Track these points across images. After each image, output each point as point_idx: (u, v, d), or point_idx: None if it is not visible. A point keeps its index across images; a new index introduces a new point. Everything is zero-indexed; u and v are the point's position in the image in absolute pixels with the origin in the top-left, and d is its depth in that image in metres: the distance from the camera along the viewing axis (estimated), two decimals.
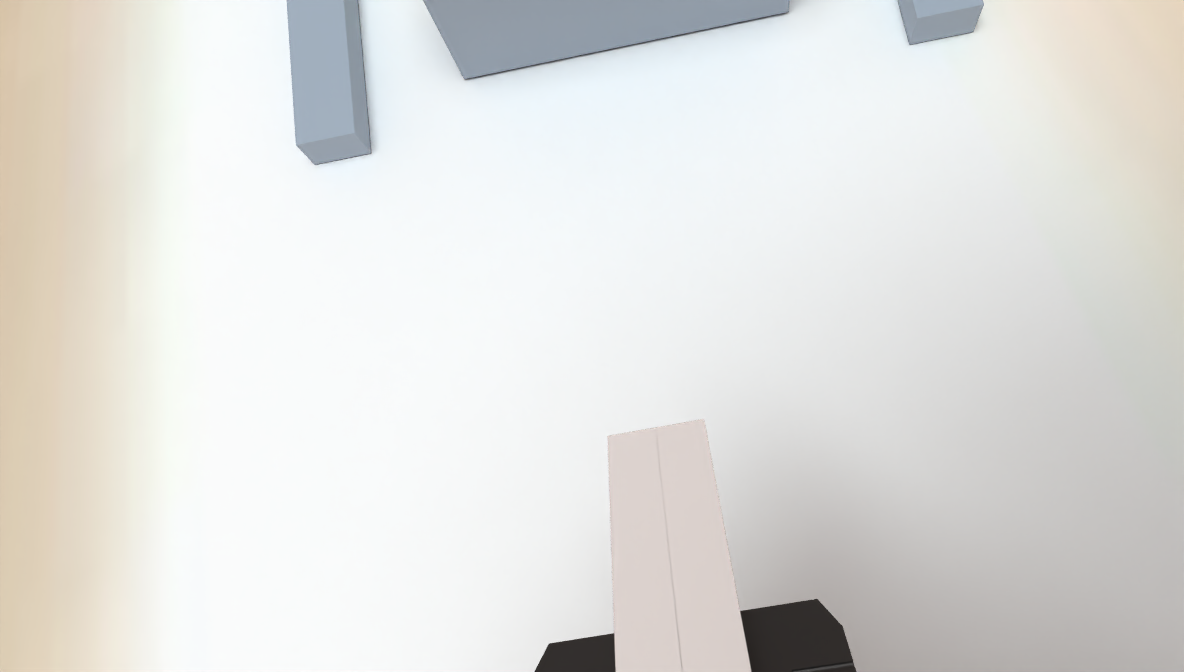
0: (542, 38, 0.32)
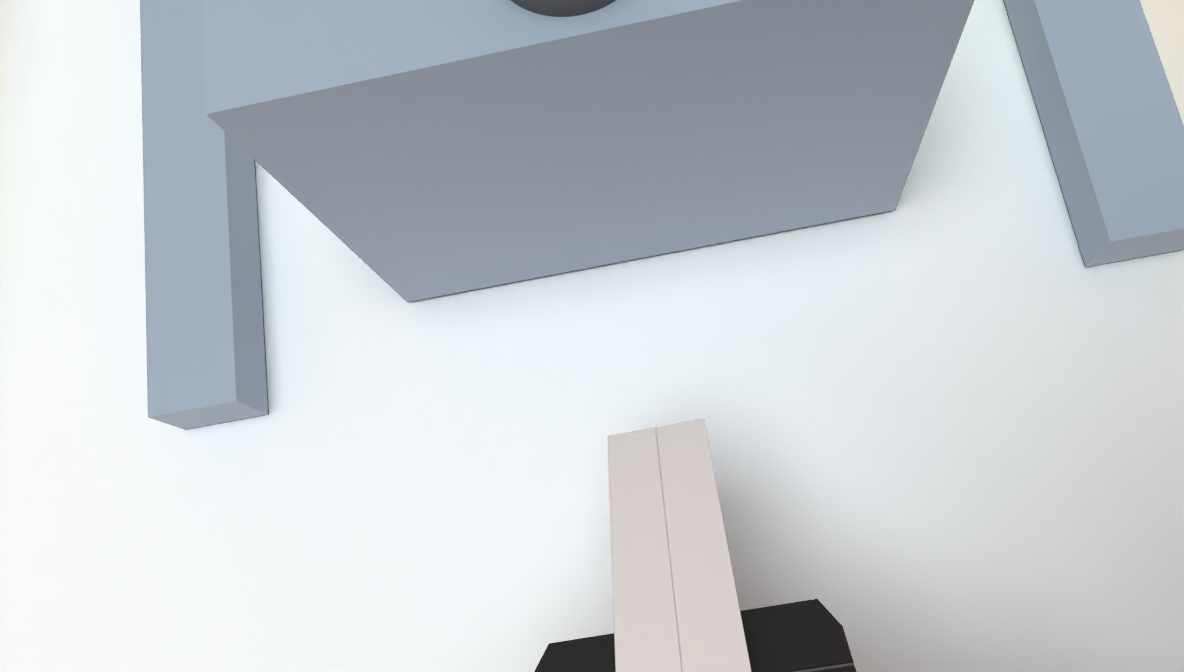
0: (522, 257, 0.21)
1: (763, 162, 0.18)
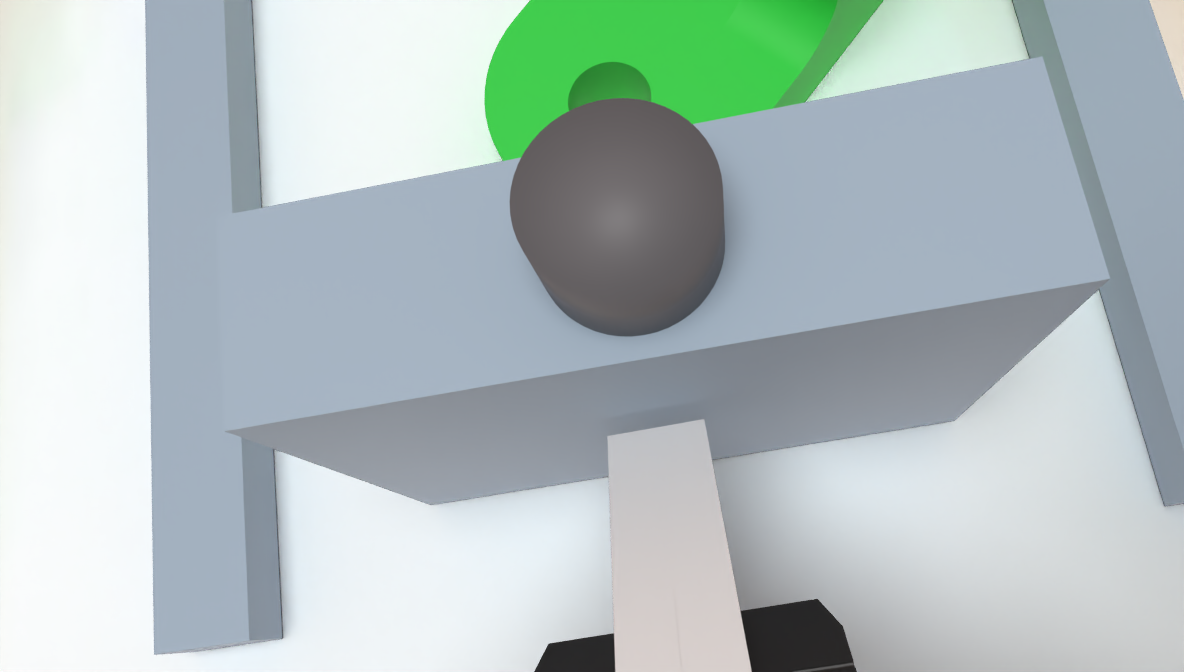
0: (556, 474, 0.20)
1: (823, 408, 0.17)
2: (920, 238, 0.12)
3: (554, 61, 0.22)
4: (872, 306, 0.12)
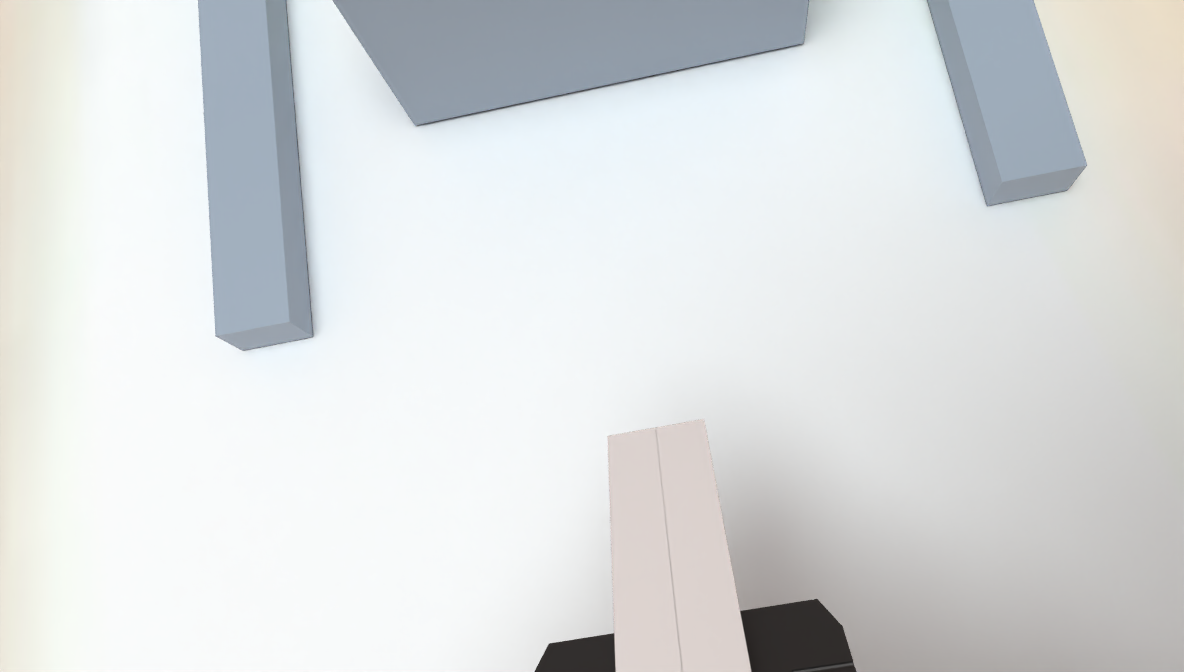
0: (506, 78, 0.27)
1: None
2: None
3: None
4: None
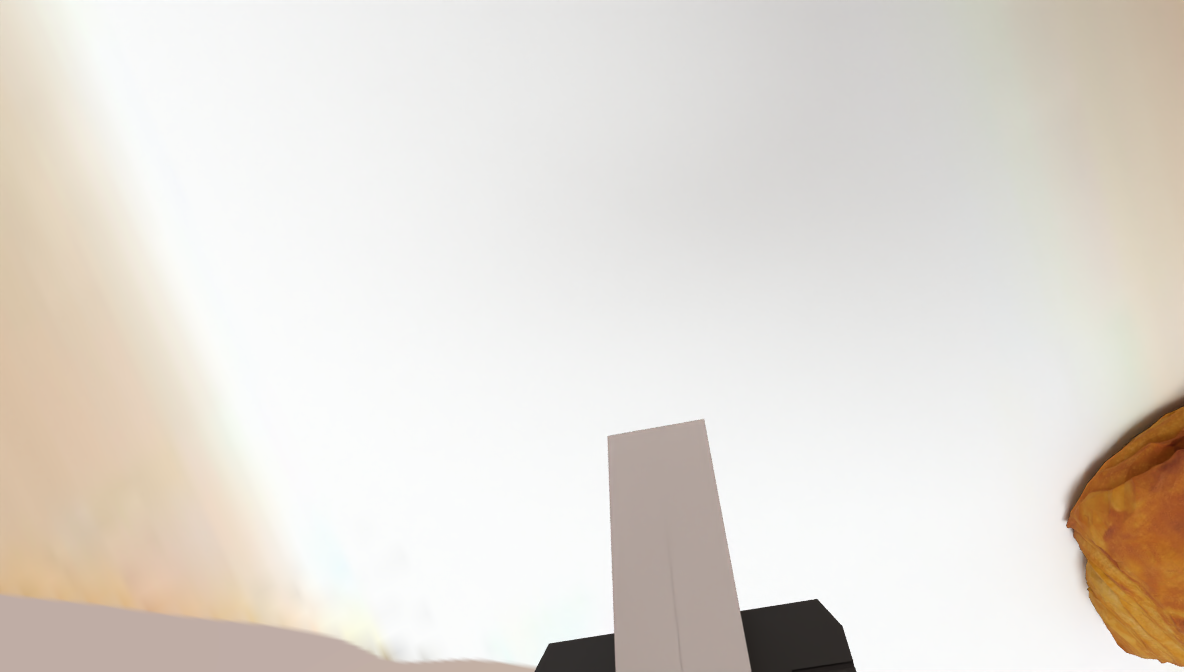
0: None
1: None
2: None
3: None
4: None
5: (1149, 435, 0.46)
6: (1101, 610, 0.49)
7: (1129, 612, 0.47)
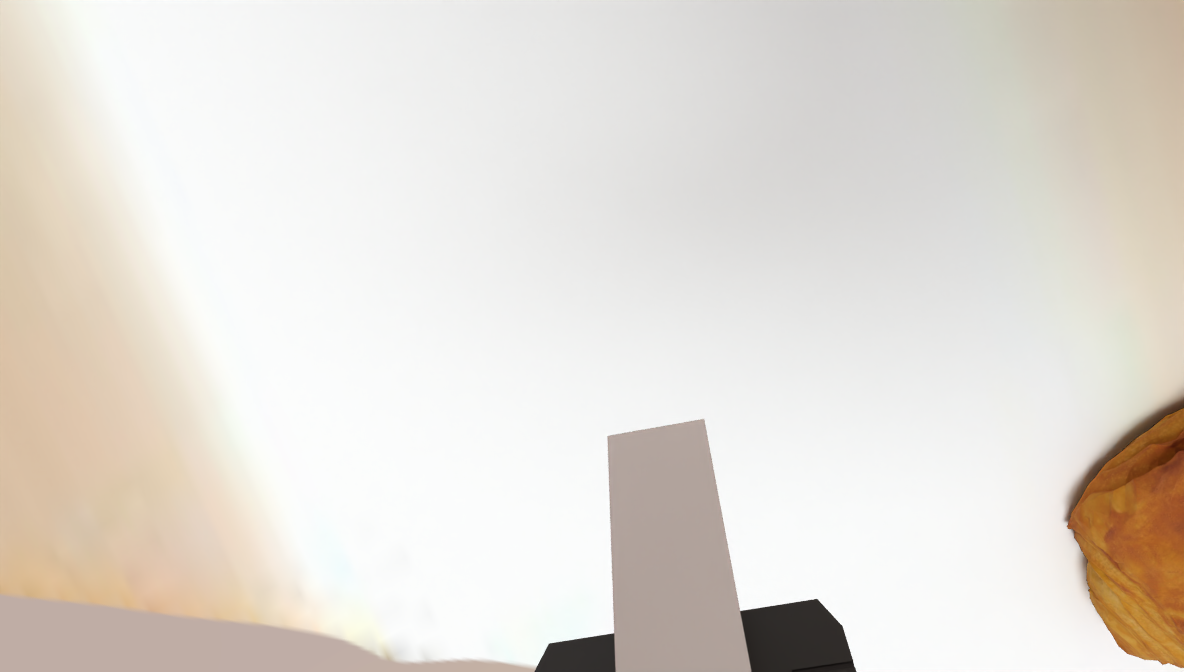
0: None
1: None
2: None
3: None
4: None
5: (1150, 436, 0.46)
6: (1102, 611, 0.49)
7: (1130, 613, 0.47)
